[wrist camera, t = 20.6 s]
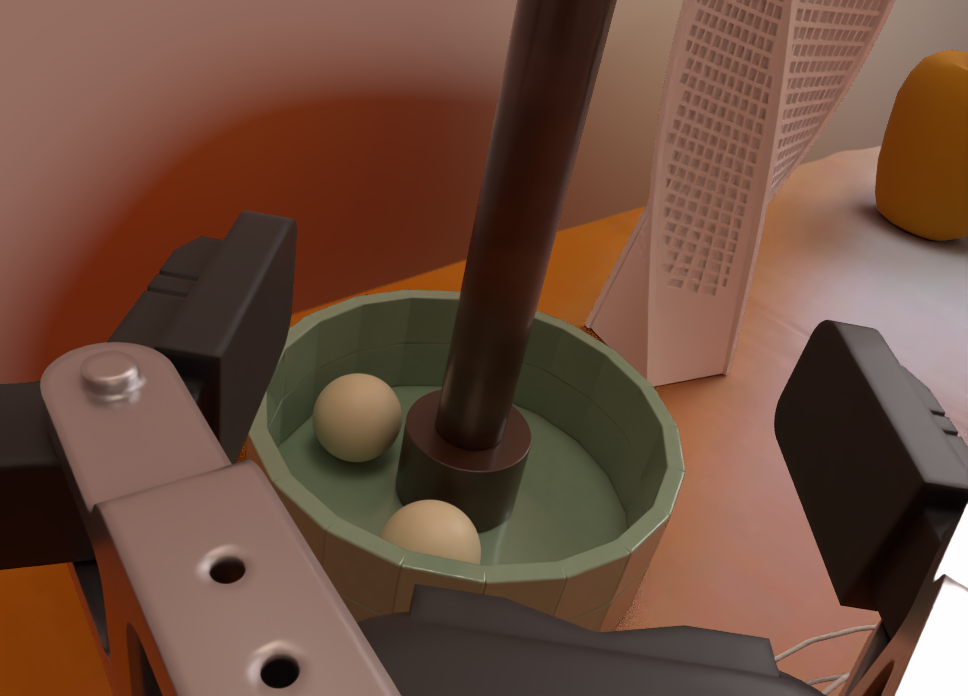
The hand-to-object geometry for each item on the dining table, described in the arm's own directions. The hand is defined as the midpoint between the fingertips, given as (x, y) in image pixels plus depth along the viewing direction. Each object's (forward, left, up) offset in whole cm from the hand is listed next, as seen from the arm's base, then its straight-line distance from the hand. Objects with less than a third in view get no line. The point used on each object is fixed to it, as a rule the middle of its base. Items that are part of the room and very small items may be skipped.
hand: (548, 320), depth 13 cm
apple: (+14, +57, -15) cm, 61 cm away
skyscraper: (0, +26, -15) cm, 30 cm away
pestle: (-4, +11, -15) cm, 18 cm away
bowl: (-4, +10, -15) cm, 19 cm away
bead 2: (-3, +6, -13) cm, 15 cm away
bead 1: (-8, +10, -13) cm, 18 cm away
